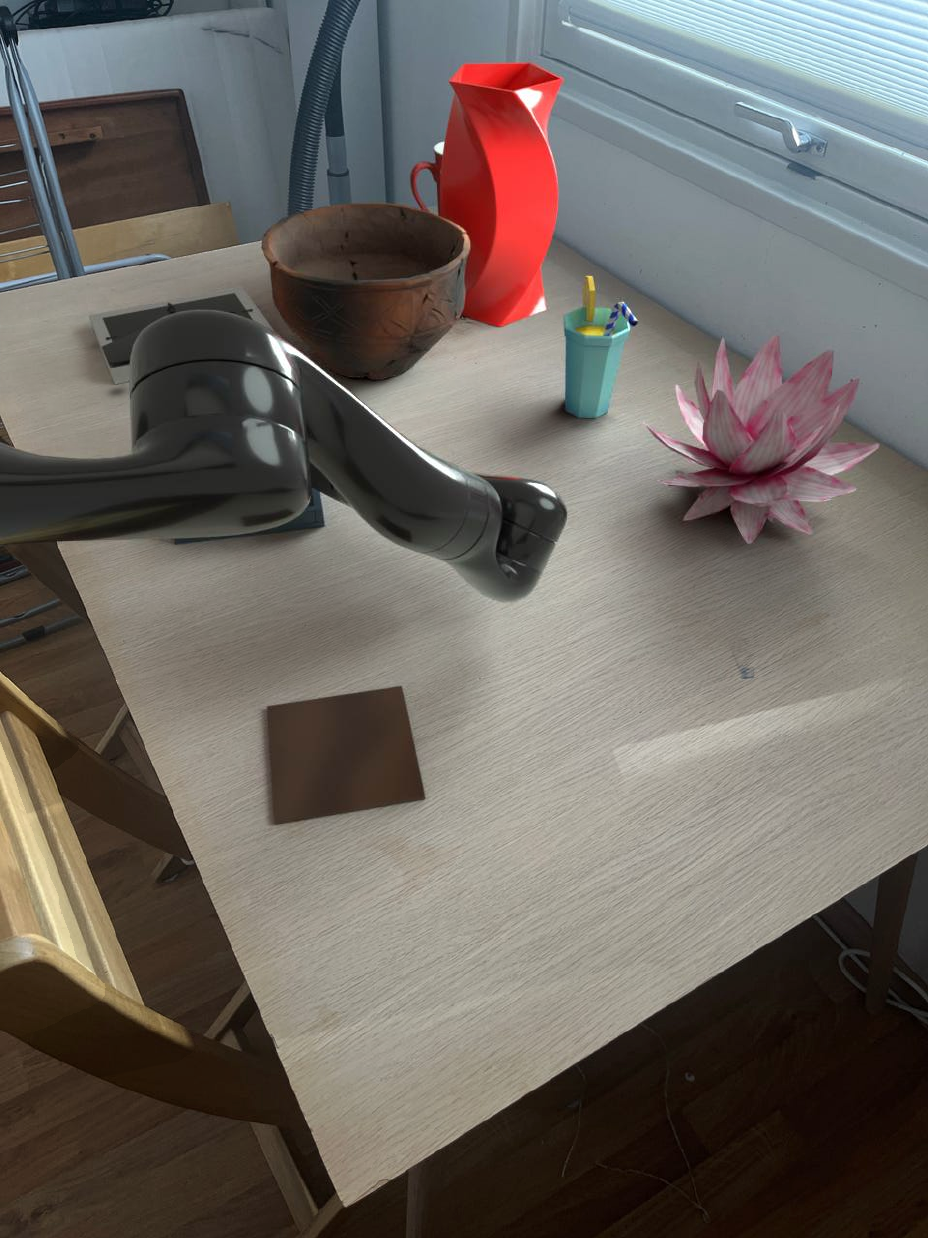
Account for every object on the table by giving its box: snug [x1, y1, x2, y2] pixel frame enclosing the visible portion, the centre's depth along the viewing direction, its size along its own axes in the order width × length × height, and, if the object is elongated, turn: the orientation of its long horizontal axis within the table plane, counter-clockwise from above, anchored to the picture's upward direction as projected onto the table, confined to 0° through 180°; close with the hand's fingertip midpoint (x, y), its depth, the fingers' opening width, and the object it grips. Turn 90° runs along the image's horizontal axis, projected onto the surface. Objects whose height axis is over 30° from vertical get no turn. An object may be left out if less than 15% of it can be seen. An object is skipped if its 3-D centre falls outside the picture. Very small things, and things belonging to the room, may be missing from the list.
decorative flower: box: [643, 333, 880, 544], centre depth 86 cm, size 21×21×15 cm
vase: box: [440, 62, 564, 328], centre depth 114 cm, size 15×14×28 cm
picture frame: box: [88, 286, 276, 385], centre depth 114 cm, size 16×3×21 cm
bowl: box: [260, 202, 470, 381], centre depth 107 cm, size 25×25×15 cm
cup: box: [562, 275, 639, 419], centre depth 98 cm, size 14×8×15 cm, turn 20°
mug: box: [409, 140, 445, 216], centre depth 135 cm, size 13×9×14 cm
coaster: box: [266, 685, 426, 825], centre depth 68 cm, size 11×11×1 cm
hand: (244, 411), depth 88 cm, fingers open, 8 cm apart
